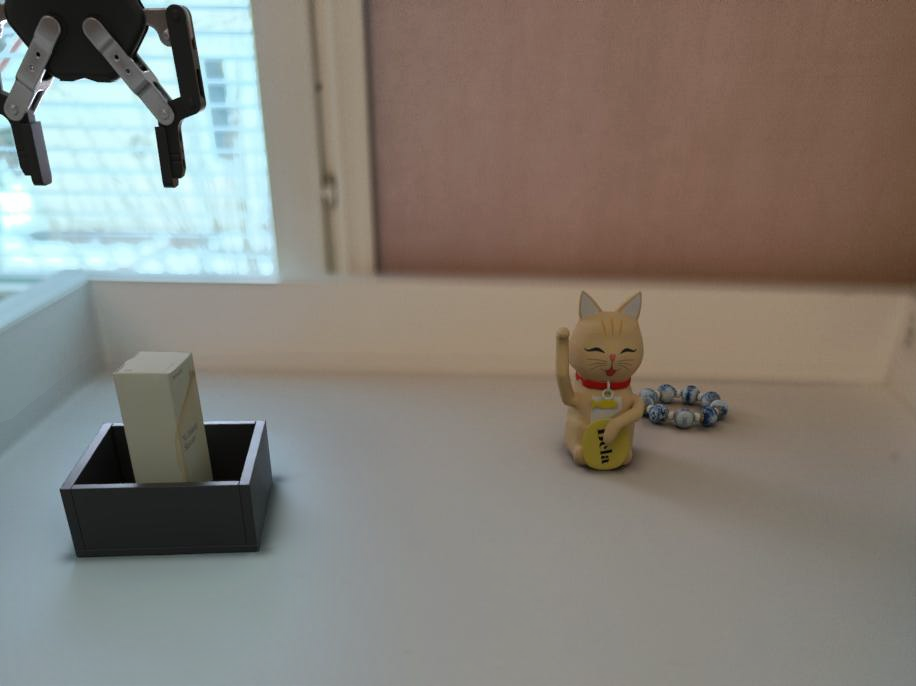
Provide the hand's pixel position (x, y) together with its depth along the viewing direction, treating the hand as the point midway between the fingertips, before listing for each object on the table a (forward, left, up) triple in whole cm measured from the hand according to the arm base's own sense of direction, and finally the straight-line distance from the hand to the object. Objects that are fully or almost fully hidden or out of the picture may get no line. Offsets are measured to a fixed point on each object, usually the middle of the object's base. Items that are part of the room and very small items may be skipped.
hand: (107, 185), depth 62 cm
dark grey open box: (+1, -1, -25) cm, 25 cm away
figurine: (+38, +10, -25) cm, 47 cm away
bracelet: (+50, +21, -25) cm, 60 cm away
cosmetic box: (+1, -1, -24) cm, 24 cm away
